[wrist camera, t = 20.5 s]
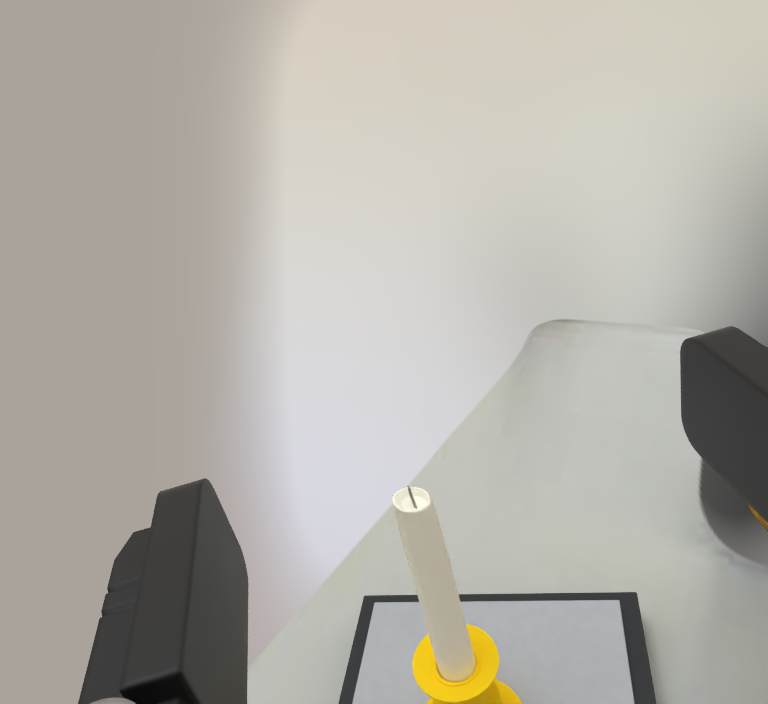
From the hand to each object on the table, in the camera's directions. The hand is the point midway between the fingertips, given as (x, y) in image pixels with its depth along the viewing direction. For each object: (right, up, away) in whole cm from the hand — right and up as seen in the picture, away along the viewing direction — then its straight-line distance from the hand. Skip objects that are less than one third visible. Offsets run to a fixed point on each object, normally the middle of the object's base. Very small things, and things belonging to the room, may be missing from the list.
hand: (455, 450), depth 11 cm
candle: (+3, -17, +21) cm, 27 cm away
